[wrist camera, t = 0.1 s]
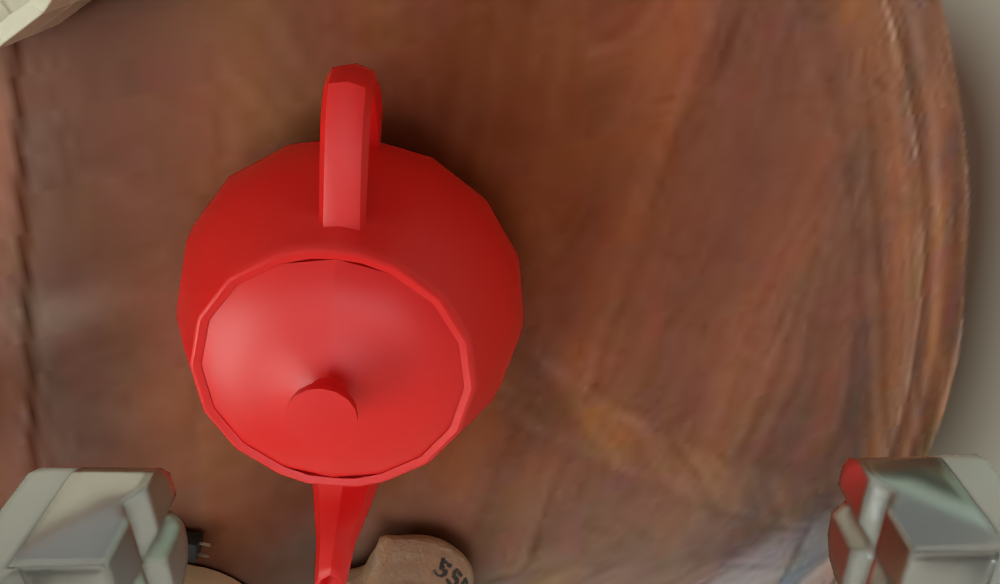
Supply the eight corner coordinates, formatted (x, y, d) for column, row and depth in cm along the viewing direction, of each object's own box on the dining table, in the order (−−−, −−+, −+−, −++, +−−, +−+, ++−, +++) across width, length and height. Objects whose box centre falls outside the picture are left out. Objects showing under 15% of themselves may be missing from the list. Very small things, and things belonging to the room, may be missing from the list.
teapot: (190, 7, 35) (58, 78, 24) (554, 48, 36) (581, 133, 25) (218, 467, 47) (137, 652, 36) (493, 489, 48) (494, 675, 37)
